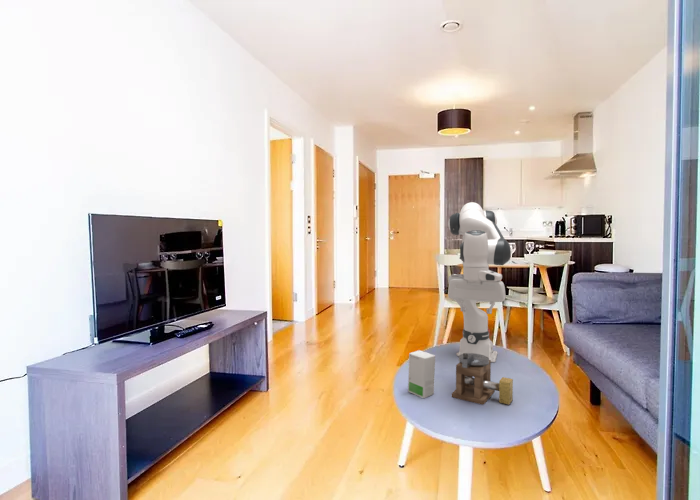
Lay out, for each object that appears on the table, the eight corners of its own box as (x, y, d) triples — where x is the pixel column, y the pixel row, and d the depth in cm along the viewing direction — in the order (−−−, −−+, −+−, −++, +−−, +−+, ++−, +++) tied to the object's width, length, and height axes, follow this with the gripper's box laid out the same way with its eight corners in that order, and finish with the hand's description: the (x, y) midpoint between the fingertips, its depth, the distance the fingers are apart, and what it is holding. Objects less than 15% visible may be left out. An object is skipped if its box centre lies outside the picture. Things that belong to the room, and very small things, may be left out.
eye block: (464, 385, 164) (464, 354, 163) (494, 391, 157) (495, 360, 156) (451, 397, 152) (451, 364, 152) (483, 405, 146) (483, 371, 145)
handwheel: (464, 355, 162) (464, 341, 161) (492, 360, 155) (492, 346, 155) (449, 366, 149) (450, 351, 149) (479, 372, 143) (479, 357, 142)
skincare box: (407, 392, 158) (407, 353, 157) (418, 387, 162) (418, 349, 161) (424, 399, 151) (424, 358, 150) (435, 394, 155) (435, 354, 154)
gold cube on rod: (460, 388, 160) (460, 368, 159) (512, 400, 148) (512, 379, 148) (456, 392, 156) (456, 371, 156) (509, 404, 145) (509, 383, 144)
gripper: (445, 274, 150) (445, 311, 151) (502, 276, 139) (502, 316, 139) (451, 273, 156) (451, 308, 156) (506, 275, 144) (506, 313, 145)
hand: (475, 312), depth 147 cm, fingers open, 8 cm apart
